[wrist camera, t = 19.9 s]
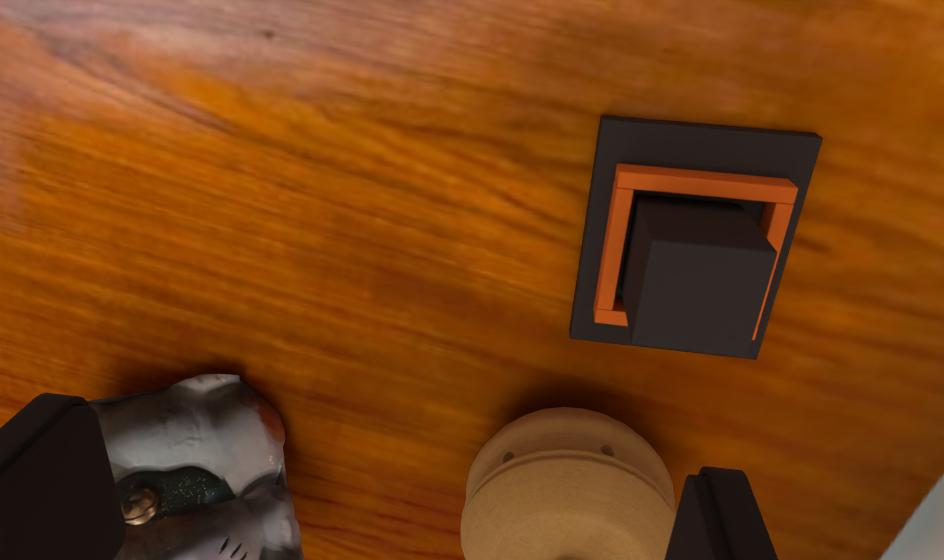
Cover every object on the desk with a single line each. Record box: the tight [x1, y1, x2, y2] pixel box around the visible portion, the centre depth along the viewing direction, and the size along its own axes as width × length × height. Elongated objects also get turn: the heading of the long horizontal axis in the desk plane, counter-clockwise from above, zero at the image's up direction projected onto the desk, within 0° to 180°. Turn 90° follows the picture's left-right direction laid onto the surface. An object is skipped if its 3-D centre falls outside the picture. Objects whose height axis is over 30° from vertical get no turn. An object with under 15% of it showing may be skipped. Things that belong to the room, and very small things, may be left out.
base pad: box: [569, 115, 823, 360], centre depth 32 cm, size 12×10×2 cm
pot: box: [461, 407, 677, 560], centre depth 36 cm, size 12×12×10 cm
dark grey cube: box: [620, 194, 777, 357], centre depth 30 cm, size 5×5×6 cm
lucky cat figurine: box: [87, 374, 305, 560], centre depth 39 cm, size 15×12×14 cm
